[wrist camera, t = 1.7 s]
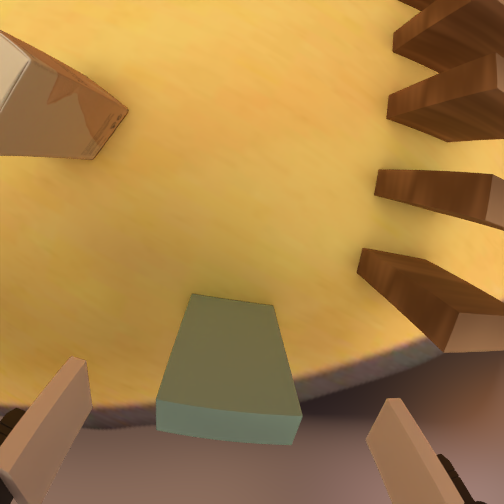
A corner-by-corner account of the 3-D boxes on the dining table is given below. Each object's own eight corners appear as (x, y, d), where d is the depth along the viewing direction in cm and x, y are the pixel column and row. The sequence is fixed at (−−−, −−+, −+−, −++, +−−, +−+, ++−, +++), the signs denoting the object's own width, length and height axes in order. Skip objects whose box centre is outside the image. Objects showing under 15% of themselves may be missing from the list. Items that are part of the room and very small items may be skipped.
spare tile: (268, 328, 22) (291, 444, 11) (189, 317, 21) (156, 429, 11) (273, 305, 22) (302, 415, 11) (191, 293, 21) (156, 399, 10)
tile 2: (436, 212, 20) (548, 245, 10) (374, 195, 20) (485, 220, 9) (440, 188, 20) (554, 209, 9) (378, 169, 20) (492, 174, 9)
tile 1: (419, 281, 22) (514, 349, 11) (356, 272, 21) (443, 352, 11) (425, 259, 21) (527, 317, 11) (362, 247, 21) (459, 312, 10)
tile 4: (451, 79, 18) (552, 49, 7) (392, 51, 17) (486, -8, 7) (451, 60, 18) (547, 25, 7) (393, 32, 17) (481, -31, 6)
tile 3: (447, 142, 19) (560, 138, 9) (386, 118, 19) (497, 88, 8) (449, 120, 19) (559, 106, 8) (389, 95, 18) (495, 52, 8)
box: (130, 110, 18) (36, 61, 7) (92, 162, 19) (-22, 162, 8) (83, 73, 17) (-16, 19, 6) (47, 122, 18) (-64, 103, 7)
